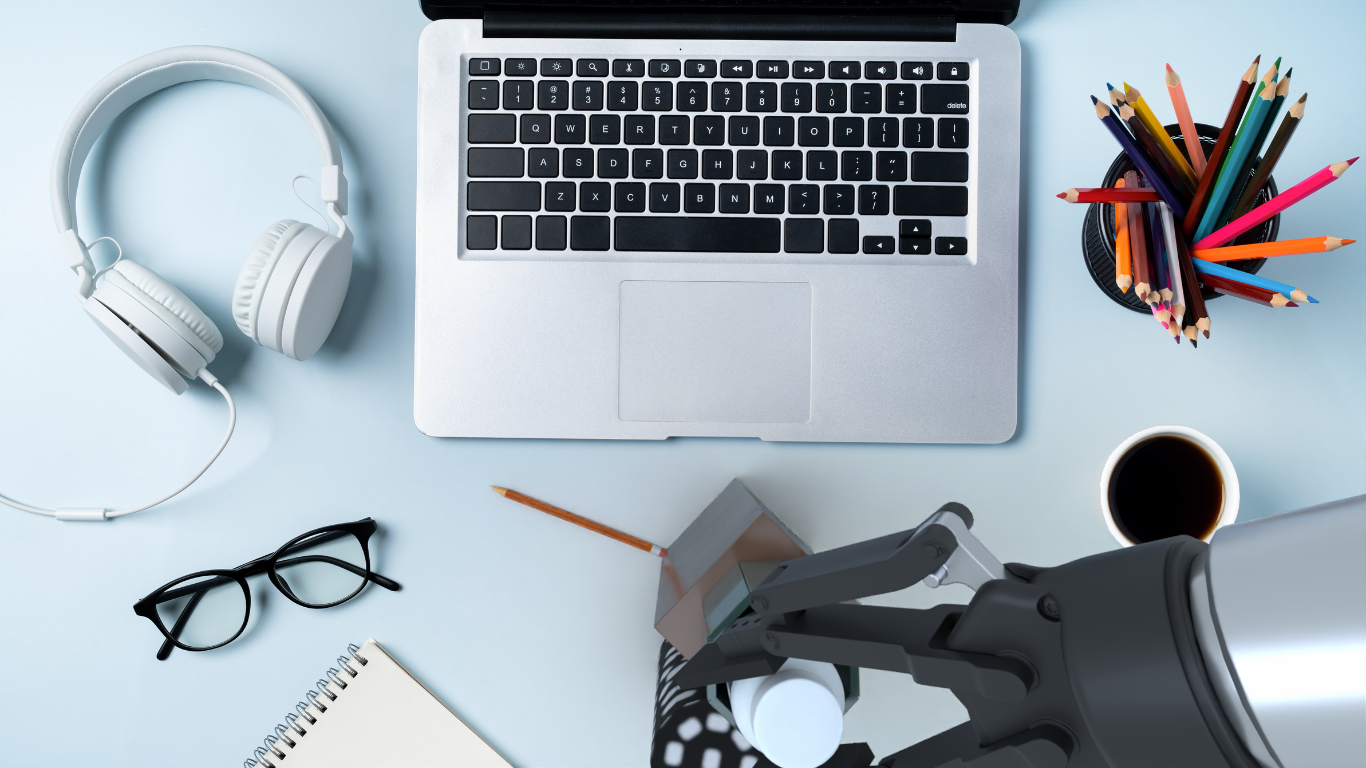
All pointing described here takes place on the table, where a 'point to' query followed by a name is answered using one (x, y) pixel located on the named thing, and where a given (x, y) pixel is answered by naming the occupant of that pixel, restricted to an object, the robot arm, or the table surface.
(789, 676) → the pill bottle
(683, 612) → the stand
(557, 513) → the pencil
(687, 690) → the white-spotted black cylinder
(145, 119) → the table surface
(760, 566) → the cup
